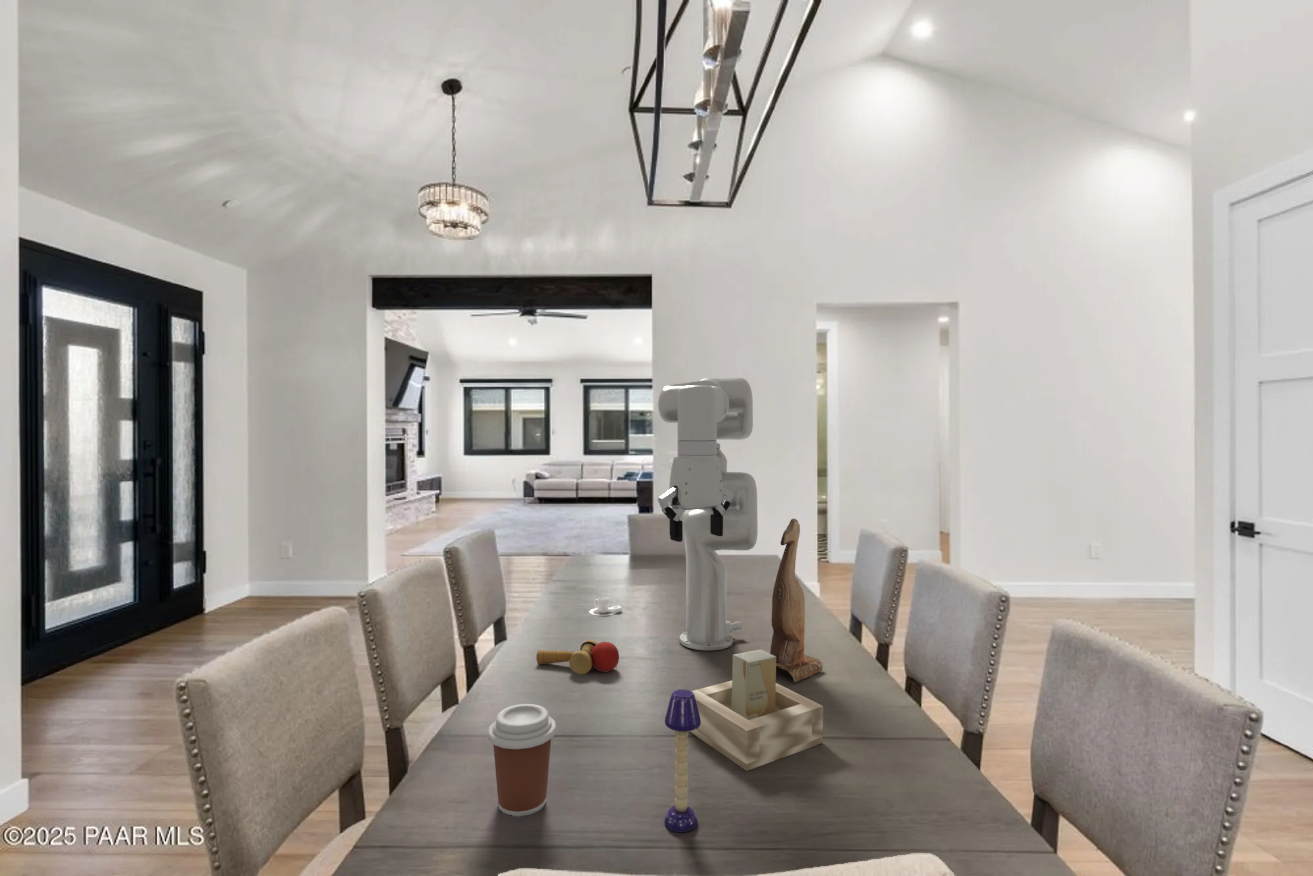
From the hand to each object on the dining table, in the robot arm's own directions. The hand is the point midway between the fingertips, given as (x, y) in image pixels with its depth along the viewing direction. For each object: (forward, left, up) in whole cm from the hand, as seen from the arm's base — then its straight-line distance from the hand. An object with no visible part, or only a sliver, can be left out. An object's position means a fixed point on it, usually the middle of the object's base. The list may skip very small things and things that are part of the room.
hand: (696, 537), depth 125 cm
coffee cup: (+42, +18, -30) cm, 55 cm away
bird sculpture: (-22, +2, -30) cm, 37 cm away
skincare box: (+3, +20, -29) cm, 35 cm away
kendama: (+15, -22, -30) cm, 40 cm away
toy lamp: (+26, +33, -30) cm, 52 cm away
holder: (+3, +20, -30) cm, 36 cm away
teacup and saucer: (-9, -53, -30) cm, 62 cm away
